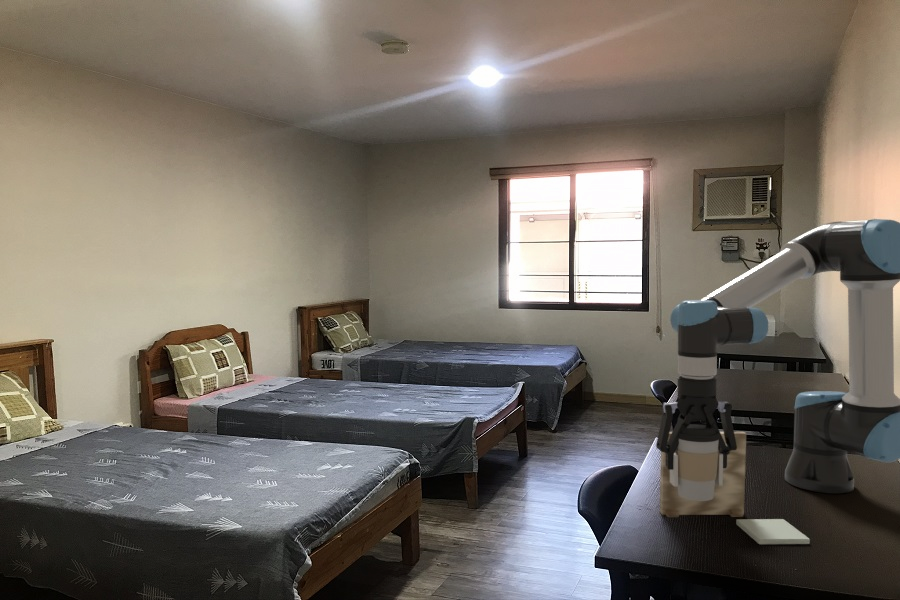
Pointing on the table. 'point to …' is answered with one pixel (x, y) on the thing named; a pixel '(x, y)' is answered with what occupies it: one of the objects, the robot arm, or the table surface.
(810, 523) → the table surface
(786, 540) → the mat
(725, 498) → the screen
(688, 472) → the coffee cup
